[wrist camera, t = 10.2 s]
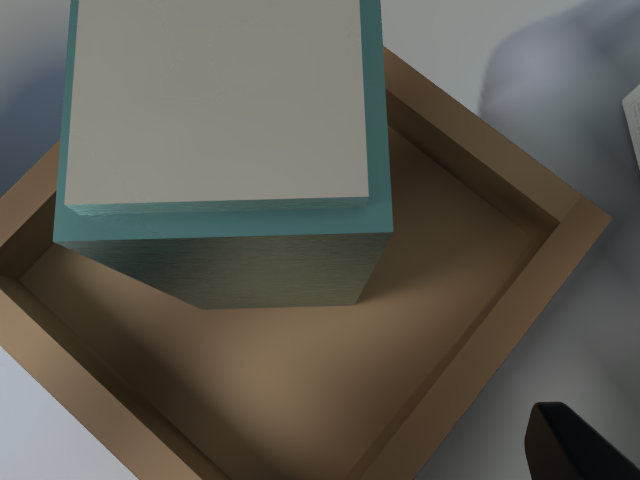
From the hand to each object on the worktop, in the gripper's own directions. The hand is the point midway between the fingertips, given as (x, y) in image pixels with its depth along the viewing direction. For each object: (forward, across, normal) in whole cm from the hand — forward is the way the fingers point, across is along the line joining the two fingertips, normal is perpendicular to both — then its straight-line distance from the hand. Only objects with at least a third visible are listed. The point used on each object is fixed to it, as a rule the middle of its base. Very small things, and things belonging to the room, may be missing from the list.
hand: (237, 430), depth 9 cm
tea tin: (+9, 0, +2) cm, 9 cm away
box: (+9, 0, +3) cm, 10 cm away
